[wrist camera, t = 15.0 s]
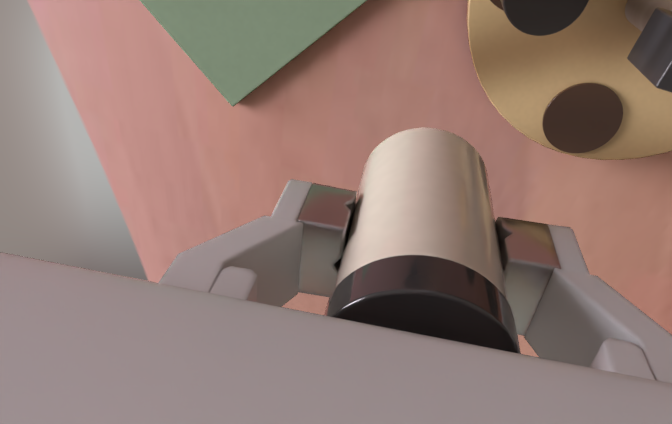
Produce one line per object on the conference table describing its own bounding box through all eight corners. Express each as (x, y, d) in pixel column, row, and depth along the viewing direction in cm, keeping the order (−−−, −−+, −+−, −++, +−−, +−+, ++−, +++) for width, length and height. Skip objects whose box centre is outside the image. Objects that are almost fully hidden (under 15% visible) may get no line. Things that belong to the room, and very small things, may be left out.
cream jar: (337, 157, 13) (277, 327, 8) (456, 101, 12) (470, 262, 7) (396, 251, 14) (375, 446, 10) (510, 209, 13) (552, 409, 8)
